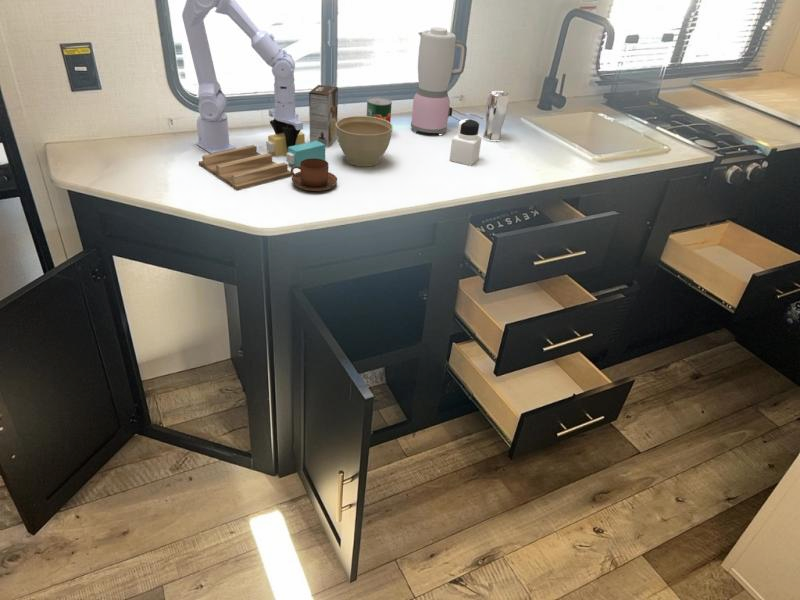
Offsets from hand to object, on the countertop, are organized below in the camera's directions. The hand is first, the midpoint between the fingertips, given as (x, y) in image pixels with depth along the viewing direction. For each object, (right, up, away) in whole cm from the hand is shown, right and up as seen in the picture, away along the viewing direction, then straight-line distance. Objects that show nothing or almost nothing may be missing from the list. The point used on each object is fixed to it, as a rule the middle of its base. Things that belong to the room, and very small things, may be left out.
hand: (286, 146), depth 178 cm
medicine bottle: (+53, -3, +6) cm, 54 cm away
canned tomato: (+26, +9, +19) cm, 34 cm away
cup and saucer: (+11, -15, -17) cm, 25 cm away
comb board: (-9, -10, -13) cm, 19 cm away
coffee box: (+10, +4, +10) cm, 15 cm away
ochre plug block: (0, -1, +1) cm, 1 cm away
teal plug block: (+7, -6, -5) cm, 10 cm away
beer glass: (+65, +9, +24) cm, 70 cm away
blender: (+45, +12, +26) cm, 53 cm away
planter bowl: (+23, -5, -1) cm, 23 cm away
